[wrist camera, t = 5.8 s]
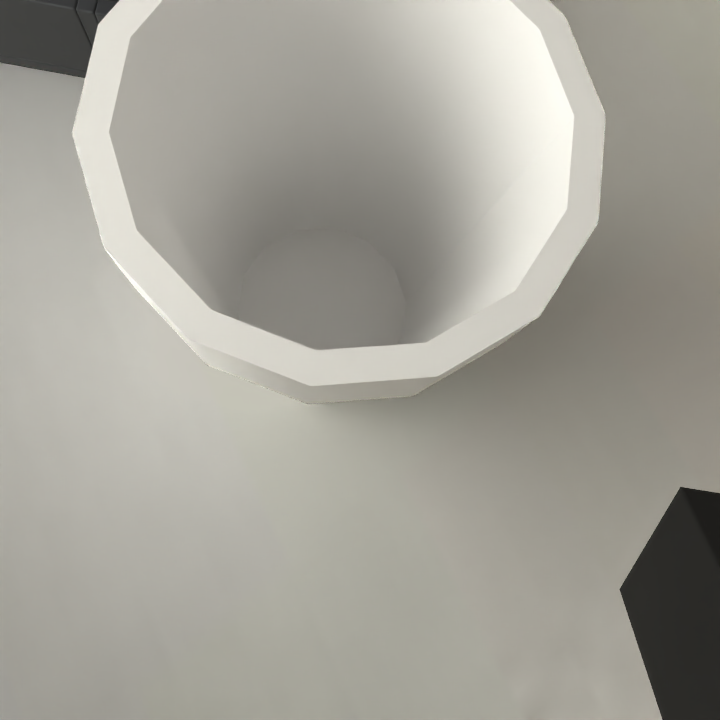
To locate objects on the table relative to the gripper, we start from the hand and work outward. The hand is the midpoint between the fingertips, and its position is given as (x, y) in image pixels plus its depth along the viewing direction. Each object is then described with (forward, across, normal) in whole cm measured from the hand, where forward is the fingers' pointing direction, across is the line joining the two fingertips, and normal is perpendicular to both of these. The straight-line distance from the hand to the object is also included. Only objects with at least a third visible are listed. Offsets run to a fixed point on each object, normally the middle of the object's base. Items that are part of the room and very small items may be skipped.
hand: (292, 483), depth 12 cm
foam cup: (+13, 0, -4) cm, 14 cm away
